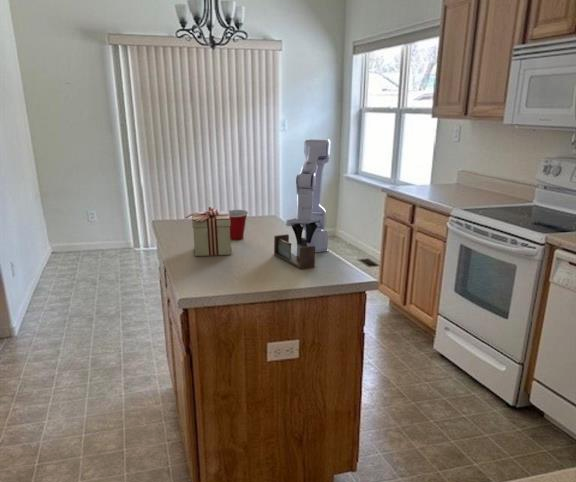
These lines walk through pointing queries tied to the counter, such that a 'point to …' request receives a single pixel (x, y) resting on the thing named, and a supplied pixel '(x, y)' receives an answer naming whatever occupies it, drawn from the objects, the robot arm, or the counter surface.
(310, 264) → the window frame
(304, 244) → the sliding pane
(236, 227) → the plastic cup
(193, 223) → the gift box
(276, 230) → the counter surface
